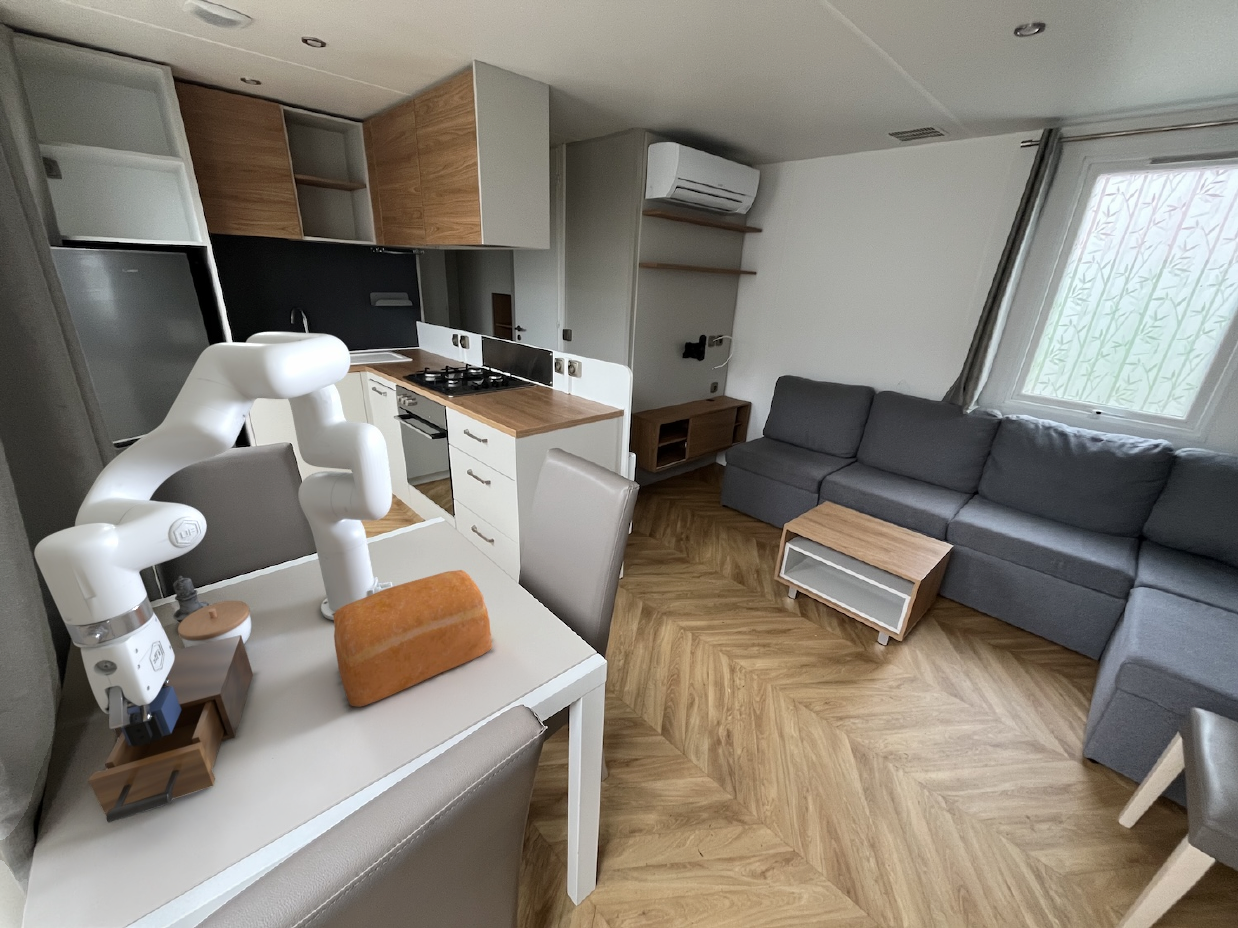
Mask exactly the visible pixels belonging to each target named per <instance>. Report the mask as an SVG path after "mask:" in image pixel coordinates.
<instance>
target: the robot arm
mask: <svg viewBox="0 0 1238 928" xmlns="http://www.w3.org/2000/svg"><path fill="white" fill-rule="evenodd" d="M350 368H351V354H350V350H349V349H348V346H347V345H346V344H345V343H344V342H343V341H342V340H341V339H340V338H338V337H337V336H335V335H332V334H327V333H315V332H296V331H295V332H293V331H263V332H257V333H254V334H252V335H251V336H249V337H248V338H247V339H246V341H245V342H237V341H236V342H234V341H230V342H229V341H228V342H219V343H214V344H211V345H209V346H208V347H206V348H204V350H203V351H202V352H201V353H200V355H199V356H198V358H197V360H196V361H195V363H194V365H193V367H192V369H191V371H190V373H189V375H188V376H187V378H186V380H185V381H184V384H183V386H182V387H181V389H180V391H179V393H178V395H177V397H176V398H175V400H174V402H173V404H172V405H171V407H170V409H169V411H168V412H167V414H166V416H165V418H164V419H163V421H162V422H161V424H159V425H158V426H157V427H156V428H154V429H153V430H151V431H150V432H148V433H147V434H145V435H143V436H141V438H139V439H138V440H137V441H135V442H134V443H133V444H131V445H130V446H129V447H127V448H126V449H125V450H123V451H122V452H121V453H119V454H118V455H117V456H115V457H114V458H113V459H111V461H110V462H109V463H108V464H107V465H106V466H105V467H104V468H103V469H102V470H101V472H100V473H99V474H98V476H97V477H96V479H95V480H94V482H93V484H92V485H91V487H90V489H89V491H88V492H87V494H86V496H85V497H84V499H83V501H82V502H81V505H80V507H79V509H78V511H77V515H76V518H75V523H74V526H72V527H68V528H64V529H61V530H59V531H56V532H54V533H51V534H49V535H47V536H46V537H44V538H42V539H41V540H40V541H39V542H38V543H37V544H36V546H35V548H34V552H33V553H34V558H35V561H36V564H37V566H38V568H39V570H40V572H41V574H42V577H43V579H44V581H45V584H46V585H47V588H48V590H49V592H50V595H51V596H52V600H53V601H54V603H55V605H56V607H57V610H58V612H59V615H60V617H61V619H62V621H63V623H64V625H65V628H66V629H67V632H68V634H69V636H70V638H71V641H72V643H73V645H74V646H75V647H77V648H79V649H80V654H81V658H82V662H83V666H84V669H85V673H86V677H87V680H88V683H89V685H90V688H91V691H92V694H93V696H94V698H95V700H96V703H97V704H98V706H99V708H100V710H101V711H102V712H103V713H104V714H106V715H108V717H109V718H108V719H109V721H108V723H109V724H108V725H109V726H108V727H109V729H110V730H114V729H115V728H119V727H121V728H124V729H125V731H126V734H127V736H128V738H129V740H130V743H131V745H132V746H139V745H143V744H146V743H150V742H153V741H157V740H160V739H162V737H163V735H164V733H163V731H162V728H161V726H160V723H159V721H158V719H157V716H156V714H152V715H151V710H150V706H149V703H151V702H152V701H153V700H154V699H155V697H156V696H157V694H158V693H159V691H160V689H162V688H166V687H169V686H167V685H168V682H169V680H168V677H167V675H168V673H169V671H170V669H171V667H172V665H173V663H174V658H175V655H174V652H173V650H174V649H173V648H172V645H171V642H170V640H169V638H168V635H167V634H166V631H165V629H164V627H163V626H162V623H161V621H160V620H159V618H158V616H157V615H156V614H155V611H154V608H153V606H152V603H151V601H150V598H149V595H148V593H147V589H146V587H145V584H144V582H143V579H142V576H141V574H140V572H141V571H142V570H144V569H147V568H151V567H153V566H156V565H159V564H162V563H164V562H165V563H166V562H168V561H171V560H173V559H176V558H179V557H181V556H183V555H185V554H187V553H189V552H190V551H192V550H193V549H194V548H196V547H197V546H199V544H200V543H201V542H202V540H203V539H204V537H205V535H206V533H207V528H208V527H207V525H208V524H207V521H206V518H205V516H204V514H202V512H201V511H200V510H198V509H196V508H195V507H192V506H190V505H187V504H184V503H178V502H170V501H169V502H168V501H157V500H151V498H152V496H153V495H154V494H155V492H156V491H157V489H158V488H159V487H160V486H161V485H162V484H163V483H164V482H165V481H166V480H167V479H169V478H170V477H171V476H173V475H175V474H176V473H177V472H179V471H181V470H183V469H184V468H187V467H189V466H192V465H195V464H197V463H200V462H202V461H205V460H209V459H211V458H214V457H216V456H218V455H221V454H223V453H225V452H227V451H229V450H230V449H232V448H233V446H234V445H235V444H236V441H237V439H238V436H239V435H240V433H241V430H242V428H243V426H244V424H245V422H246V420H247V417H248V415H249V413H250V411H251V409H252V408H253V405H254V403H255V401H256V400H258V399H269V400H270V399H271V400H288V402H289V405H290V409H291V414H292V419H293V426H294V430H295V431H294V432H295V435H296V440H297V447H298V450H299V454H300V456H301V457H300V458H301V459H302V460H303V461H304V463H306V464H307V465H309V466H312V467H317V468H325V469H339V470H349V471H351V472H348V471H336V470H335V471H333V470H324V471H318V472H314V473H312V474H309V475H308V476H306V477H305V478H304V479H303V480H302V482H301V483H300V485H299V488H298V492H297V494H298V495H297V497H298V503H299V505H300V509H301V510H302V513H303V514H304V517H305V518H306V520H307V523H308V524H309V527H310V530H311V533H312V536H313V541H314V545H315V549H316V554H317V558H318V563H319V567H320V568H319V569H320V572H321V576H322V581H323V586H324V590H325V593H326V597H325V598H324V599H323V601H322V603H321V604H320V611H321V614H322V616H323V617H324V618H325V619H328V620H330V621H334V616H333V615H334V614H335V612H336V611H337V610H338V609H340V608H341V607H343V606H345V605H347V604H350V603H352V602H355V601H357V600H360V599H363V598H365V597H368V596H370V595H373V594H375V593H377V592H380V591H382V590H385V589H387V588H391V587H394V586H395V585H393V582H392V581H386V582H381V581H379V578H378V576H374V574H373V573H374V572H373V568H372V561H371V556H370V551H369V546H368V540H367V533H366V530H365V527H364V524H363V523H362V521H363V522H365V521H366V522H373V521H378V520H381V519H383V518H384V517H386V516H387V515H388V513H389V511H390V510H391V506H392V502H393V487H392V478H391V469H390V461H389V454H388V447H387V442H386V438H385V437H384V435H383V433H382V432H381V430H380V429H379V428H378V427H377V426H375V425H374V424H371V423H369V422H364V421H363V422H362V421H349V420H347V419H346V417H345V414H344V409H343V404H342V400H341V395H340V392H339V391H338V388H337V387H336V385H335V384H337V383H339V382H340V381H341V380H343V379H344V378H345V377H346V376H347V374H348V373H349V371H350ZM165 686H166V687H165ZM127 699H128V701H127ZM135 706H139V708H140V712H136V713H132V714H128V710H127V708H131V707H135Z"/></svg>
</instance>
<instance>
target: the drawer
mask: <svg viewBox="0 0 1238 928" xmlns="http://www.w3.org/2000/svg"><path fill="white" fill-rule="evenodd" d="M224 731H225V726H224V723H223V720H222V717H221V715H220V712H219V709H218V706H217V703H216V700H211V701H207V702H203V703H199V704H196V705H192V706H188V707H184V708H181V712H180V714H179V717H178V719H177V721H176V724H175V726H174V728H173V731H172V733H171V734H169V735H165V736H163V737H162V739H160V740H157V741H153V742H150V743H146V744H143V745H139V746H132V745H128V743H127V740H126V738H125V736H124V734H123V731H122V733H121V735H120V737H119V738H118V739H117V741H115V744H114V746H113V748H112V750H111V751H110V754H109V755H108V756H107V759H106V761H105V763H104V765H105V767H106V769H104V770H103V769H102V770H100V771H97V772H93V773H92V774H91V776H90V777H89V779H88V780H87V781H88V784H89V785H90V788H91V789H92V792H93V793H94V796H95V797H96V799H97V801H98V803H99V806H100V808H101V809H102V811H103V814H104V815H105V819H106V822H107V823H108V824H110V823H113V822H117V821H119V820H123V819H125V818H128V817H131V816H135V815H137V814H141V813H144V812H148V811H150V810H153V809H157V808H160V807H162V806H165V805H168V804H171V803H172V801H173V799H177V798H180V797H184V796H186V795H189V794H192V793H196V792H199V791H202V790H205V789H208V788H211V787H213V786H214V785H215V782H216V776H215V773H214V771H213V768H214V765H215V762H216V759H217V756H218V752H219V749H220V745H221V743H222V742H221V740H222V737H223V734H224Z"/></svg>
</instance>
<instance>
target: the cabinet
mask: <svg viewBox="0 0 1238 928" xmlns="http://www.w3.org/2000/svg"><path fill="white" fill-rule="evenodd" d="M173 652H174V655H175V658H174V663H173V665H172V667H171V669H170V671H169V673H168V675H167V677H168V680H169V682H168V685H167V686H169V687H170V686H173V689H174V691H175V694H176V697H177V699H178V702H179V704H180V707H181V708H184V707H188V706H192V705H196V704H199V703H203V702H207V701H211V700H216V703H217V706H218V709H219V712H220V715H221V717H222V720H223V723H224V726H225V731H224V734H223V737H222V740H221V743H223V742H225V741H229V740H232V739H235V738H236V737H237V736H236V735H237V733H238V729H239V727H240V726H239V725H240V722H241V718H242V715H243V711H244V708H245V705H246V701H247V698H248V694H249V691H250V688H251V684H252V681H253V677H254V672H253V669H252V666H251V663H250V659H249V657H248V653H247V650H246V646H245V644H244V643H243V640H242V636H241V635H239V636H234V637H230V638H225V639H221V640H217V641H212V642H208V643H203V644H199V645H194V646H190V647H182V648H177V649H173ZM165 687H166V686H165ZM127 701H128V699H127ZM113 730H114V731H115V734H116V736H117V738H118V739H119V737H120V735H121V733H122V729H121V727H119V728H115V729H113Z"/></svg>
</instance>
